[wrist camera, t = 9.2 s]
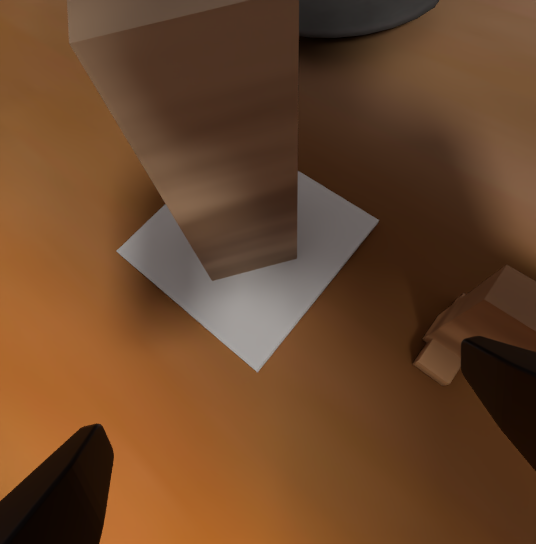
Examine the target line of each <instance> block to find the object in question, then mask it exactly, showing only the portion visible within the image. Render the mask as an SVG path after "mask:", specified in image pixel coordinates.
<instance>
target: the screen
mask: <svg viewBox="0 0 536 544" xmlns="http://www.w3.org/2000/svg"><path fill="white" fill-rule="evenodd" d="M474 336H483V337H486V338H489V339H493V340H496V341H500V342H503V343H507V344H510V345H513V346H517V347H520V348H524V349H527V350H531V351H534V352H536V281H534V280H533V279H531V278H529V277H527V276H526V275H524V274H522V273H521V272H519V271H517V270H515V269H514V268H512V267H510V266H509V265H505V266H504V267H503V268H501V269H500V270H498V271H497V272H496V273H494V274H493V275H492V276H490V277H489V278H488V279H486V280H485V281H484V282H482V283H481V284H480V285H478V286H477V287H476V288H474V289H473V290H472V291H470V292H469V293H467V294H465V293H463V294H462V295H460V296H459V297H458V298H457V299H456V300H455V302H454V303H453V305H451V306H450V307H449V308H447V309H446V310H445V311H443V312H442V313H441V314H439V315H438V316H437V318H436V319H435V321H434V322H433V324H432V325H431V327H430V328H429V330H428V331H427V333H426V334H425V336H424V337H423V339H422V340H424V341H425V342H426V345H425V346H424V348H423V349H422V351H421V352H420V354H419V355H418V356H417V358H416V359H415V361H414V362H413V365H414V366H416V367H417V368H418V369H420V370H421V371H423V372H424V373H425V374H427V375H428V376H429V377H431V378H432V379H434V380H435V381H436V382H438V383H439V384H440V385H442V386H444V385H448V384H450V383H451V381H452V379H453V378H454V376H455V375H456V373H457V372H458V370H459V368H460V367H461V342H462V340H463V339H465V338H469V337H474Z"/></svg>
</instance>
